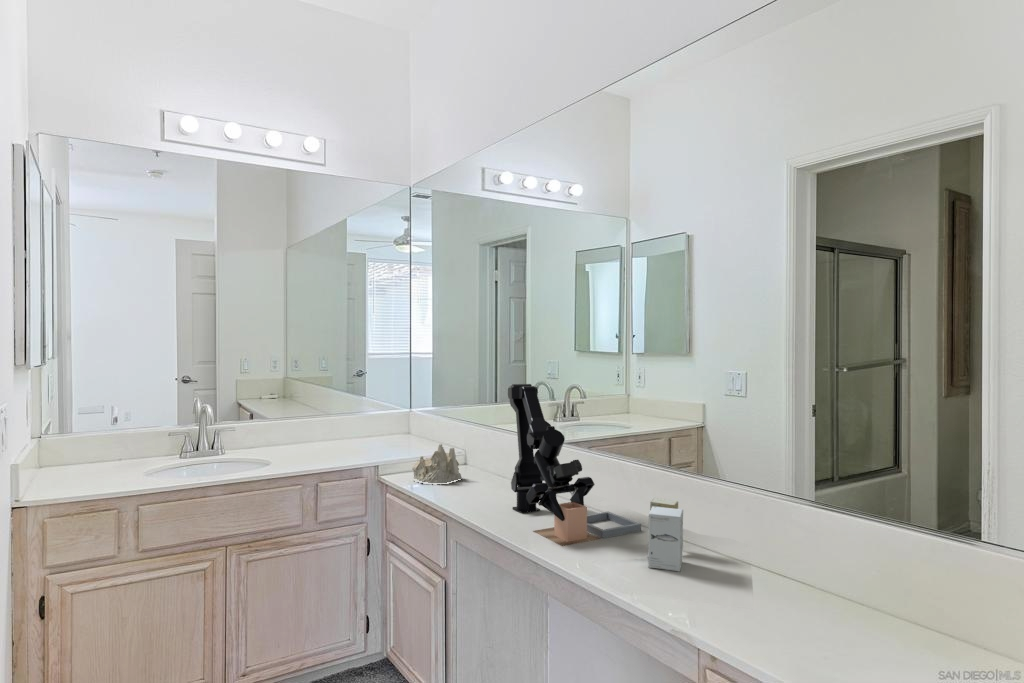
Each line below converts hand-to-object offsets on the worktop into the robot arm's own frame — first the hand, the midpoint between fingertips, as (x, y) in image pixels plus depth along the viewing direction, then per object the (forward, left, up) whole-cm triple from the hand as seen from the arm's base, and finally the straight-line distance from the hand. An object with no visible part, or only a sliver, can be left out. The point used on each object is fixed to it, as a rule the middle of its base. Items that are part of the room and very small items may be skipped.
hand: (573, 518), depth 158 cm
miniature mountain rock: (-85, -1, -7) cm, 86 cm away
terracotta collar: (-1, 0, -5) cm, 5 cm away
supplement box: (+23, +10, -7) cm, 26 cm away
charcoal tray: (-3, +13, -7) cm, 15 cm away
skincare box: (+15, +17, -7) cm, 23 cm away
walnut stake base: (-3, 0, -7) cm, 7 cm away
